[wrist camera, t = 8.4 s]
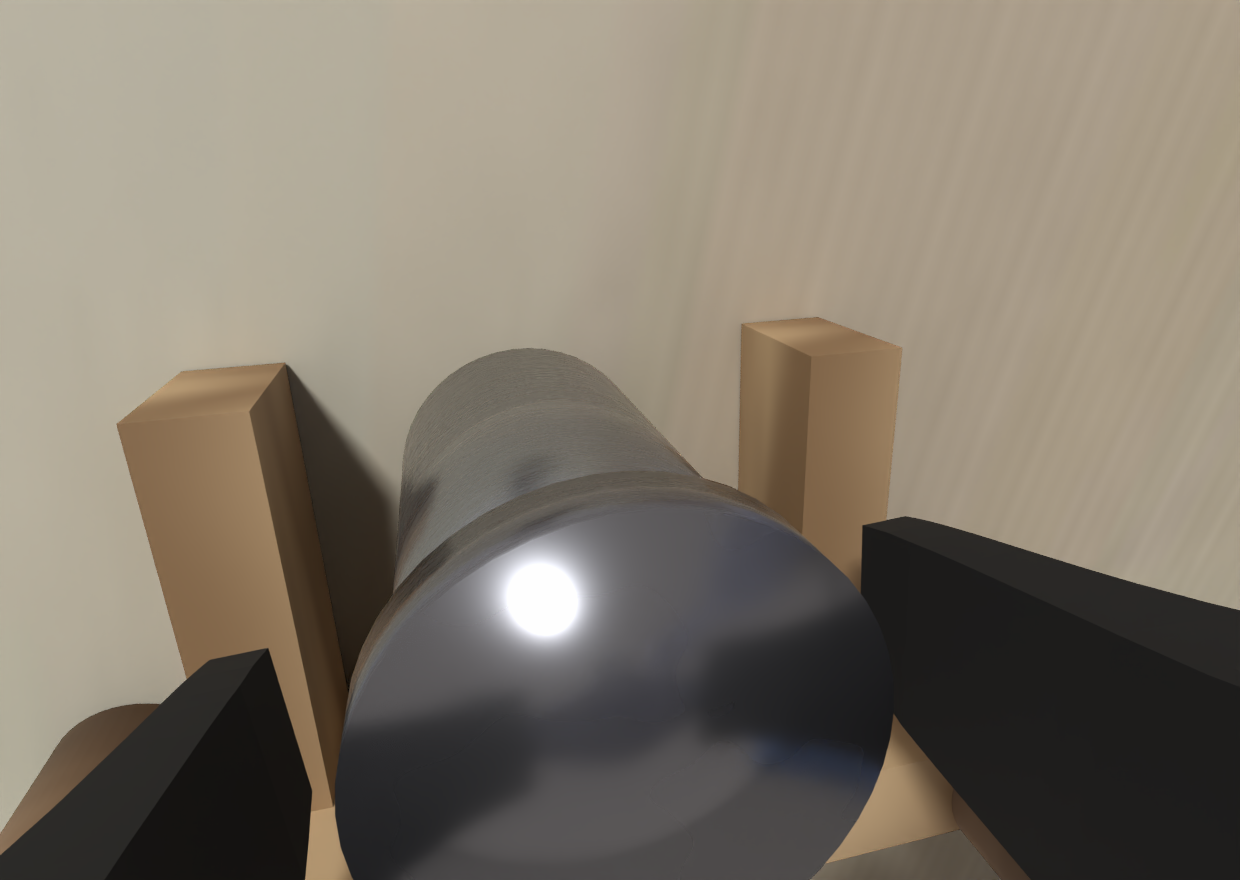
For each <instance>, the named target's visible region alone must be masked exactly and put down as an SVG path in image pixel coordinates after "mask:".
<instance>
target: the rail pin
mask: <svg viewBox="0 0 1240 880" xmlns="http://www.w3.org/2000/svg"><path fill="white" fill-rule="evenodd" d="M893 714H894V680H893V674H892V668H891V662H890V656H889V652H888V649H887V646H886V643H885V640H884V637H883V634H882V631H881V628H880V625H879V624H878V622H877V620H876V618H875V616H874V614H873V612H872V611H871V609H870V607H869V605H868V603H867V601H866V600H865V599H864V597H863V596H862V595H861V594H860V592H859V591H858V590H857V588H856V587H855V586H854V585H853V583H852V582H851V581H850V579H849V578H848V577H847V576H846V575H845V574H844V573H843V572H841V571H840V570H839V569H838V568H837V567H836V566H835V565H834V564H833V563H832V562H831V561H830V560H829V559H828V558H827V557H825V556H824V555H823V554H822V553H821V552H820V551H819V550H818V549H817V548H816V547H815V546H814V545H813V544H812V543H810V542H809V541H808V540H807V539H806V538H805V537H804V536H803V535H802V534H801V533H800V532H799V531H798V530H796V529H795V528H794V527H793V526H792V525H791V524H790V523H789V522H788V521H787V520H786V519H784V518H783V517H782V516H781V515H780V514H778V513H777V512H775V511H774V510H772V509H771V508H769V507H768V506H766V505H765V504H763V503H762V502H760V501H759V500H757V499H756V498H753V497H751V496H749V495H747V494H745V493H743V492H740V491H738V490H736V489H734V488H732V487H730V486H727V485H724V484H721V483H717V482H714V481H710V480H707V479H704V478H702V477H701V476H700V475H699V474H698V473H697V472H696V470H695V469H694V468H693V467H692V466H691V465H690V464H689V463H688V462H687V461H686V460H685V459H684V458H683V457H682V456H681V454H680V453H679V452H678V451H677V450H676V449H675V448H674V447H673V446H672V445H671V444H670V443H669V442H668V441H667V440H666V438H665V437H664V436H663V435H662V434H661V433H660V432H659V431H658V430H657V429H656V428H655V427H654V426H653V425H652V424H651V422H650V421H649V420H648V419H647V418H646V417H645V416H644V415H643V414H642V413H641V412H640V411H639V410H638V409H637V408H636V406H635V405H634V404H633V403H632V402H631V401H630V400H629V399H628V398H627V397H626V396H625V395H624V394H623V393H622V392H621V390H620V389H619V388H618V387H617V386H616V385H615V384H614V383H613V382H612V381H611V380H610V379H609V378H607V377H606V376H605V375H604V374H603V373H602V372H600V371H599V370H597V369H596V368H594V367H593V366H591V365H590V364H588V363H586V362H584V361H582V360H580V359H578V358H576V357H573V356H570V355H567V354H564V353H561V352H556V351H551V350H546V349H531V348H526V349H512V350H507V351H502V352H497V353H493V354H490V355H487V356H484V357H481V358H479V359H477V360H475V361H473V362H471V363H468V364H466V365H464V366H463V367H461V368H460V369H458V370H457V371H455V372H454V373H452V374H451V375H450V376H448V377H447V378H446V379H445V380H444V381H443V382H441V383H440V384H439V385H438V386H437V387H436V388H435V389H434V391H433V392H432V393H431V394H430V395H429V396H428V397H427V399H426V400H425V402H424V403H423V405H422V406H421V408H420V409H419V411H418V412H417V414H416V416H415V419H414V421H413V423H412V425H411V427H410V430H409V433H408V436H407V440H406V444H405V450H404V456H403V469H402V482H401V495H400V508H399V521H398V534H397V547H396V560H395V573H394V586H393V595H392V596H391V597H390V599H389V600H388V602H387V603H386V605H385V606H384V608H383V609H382V610H381V612H380V613H379V615H378V616H377V618H376V620H375V622H374V624H373V626H372V628H371V630H370V632H369V634H368V636H367V638H366V640H365V642H364V644H363V646H362V648H361V651H360V654H359V657H358V660H357V663H356V666H355V669H354V672H353V675H352V678H351V682H350V688H349V694H348V700H347V706H346V712H345V719H344V725H343V732H342V739H341V745H340V752H339V759H338V766H337V772H336V779H335V819H336V824H337V830H338V836H339V841H340V847H341V850H342V853H343V855H344V858H345V861H346V863H347V866H348V869H349V871H350V874H351V877H352V878H353V880H810V879H811V878H812V877H813V876H814V875H815V874H816V873H817V872H818V871H819V870H820V869H821V868H822V867H823V865H824V864H825V863H826V862H827V861H828V859H829V858H830V857H831V856H832V855H833V853H834V852H835V851H836V850H837V849H838V847H839V846H840V845H841V844H842V842H843V841H844V839H845V838H846V836H847V835H848V833H849V832H850V830H851V829H852V827H853V826H854V825H855V823H856V822H857V820H858V818H859V817H860V815H861V813H862V811H863V809H864V807H865V805H866V803H867V802H868V800H869V798H870V796H871V794H872V792H873V790H874V787H875V785H876V782H877V780H878V777H879V775H880V772H881V769H882V767H883V764H884V760H885V756H886V753H887V749H888V745H889V741H890V737H891V730H892V722H893Z"/></svg>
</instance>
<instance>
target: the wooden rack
mask: <svg viewBox="0 0 1240 880" xmlns="http://www.w3.org/2000/svg"><path fill="white" fill-rule="evenodd" d="M901 357H902V348H901V347H899V346H896V345H893V344H890V343H888V342H885V341H882V340H879V339H876V338H874V337H871V336H868V335H865V334H863V333H860V332H857V331H854V330H852V329H849V328H846V327H843V326H841V325H838V324H835V323H832V322H830V321H827V320H824V319H821V318H818V317H816V318H804V319H792V320H780V321H769V322H757V323H745V324H742V331H741V381H740V431H739V481H738V491H740V492H743V493H745V494H747V495H749V496H751V497H753V498H756V499H757V500H759V501H760V502H762V503H763V504H765V505H766V506H768V507H769V508H771V509H772V510H774V511H775V512H777V513H778V514H780V515H781V516H782V517H783V518H784V519H786V520H787V521H788V522H789V523H790V524H791V525H792V526H793V527H794V528H795V529H796V530H798V531H799V532H800V533H801V534H802V535H803V536H804V537H805V538H806V539H807V540H808V541H809V542H810V543H812V544H813V545H814V546H815V547H816V548H817V549H818V550H819V551H820V552H821V553H822V554H823V555H824V556H825V557H827V558H828V559H829V560H830V561H831V562H832V563H833V564H834V565H835V566H836V567H837V568H838V569H839V570H840V571H841V572H843V573H844V574H845V575H846V576H847V577H848V578H849V579H850V581H851V582H852V583H853V585H854V586H855V587H856V588H857V590H858V591H859V592H860V594H861V559H862V525H866V524H871V523H876V522H881V521H885V520H886V516H887V505H888V495H889V484H890V474H891V463H892V452H893V442H894V431H895V420H896V410H897V399H898V388H899V378H900V367H901ZM116 425H117V428H118V432H119V435H120V439H121V443H122V446H123V450H124V454H125V457H126V461H127V464H128V468H129V472H130V475H131V479H132V482H133V486H134V490H135V493H136V497H137V501H138V504H139V508H140V511H141V515H142V519H143V522H144V526H145V529H146V533H147V537H148V540H149V544H150V548H151V551H152V555H153V558H154V562H155V566H156V569H157V573H158V576H159V580H160V584H161V587H162V591H163V595H164V598H165V602H166V605H167V609H168V613H169V616H170V620H171V623H172V627H173V631H174V634H175V638H176V642H177V645H178V649H179V652H180V656H181V660H182V663H183V667H184V670H185V674H186V678H187V679H188V678H189V677H190V676H191V675H192V674H193V673H194V672H196V671H197V670H198V669H199V668H200V667H201V666H203V665H204V664H205V663H206V662H207V661H209V660H211V659H216V658H221V657H226V656H230V655H235V654H240V653H245V652H250V651H255V650H260V649H264V648H269V652H270V655H271V658H272V661H273V665H274V668H275V671H276V674H277V678H278V681H279V684H280V687H281V691H282V694H283V697H284V700H285V704H286V707H287V710H288V713H289V717H290V720H291V723H292V726H293V730H294V733H295V736H296V739H297V743H298V746H299V749H300V752H301V756H302V759H303V762H304V765H305V769H306V772H307V775H308V778H309V782H310V785H311V788H312V803H311V817H310V832H309V844H308V855H307V866H306V876H305V880H353V878H352V877H351V874H350V871H349V869H348V866H347V863H346V861H345V858H344V855H343V853H342V850H341V847H340V841H339V836H338V830H337V824H336V819H335V779H336V772H337V766H338V759H339V752H340V745H341V739H342V732H343V725H344V719H345V712H346V706H347V700H348V689H347V684H346V679H345V673H344V668H343V663H342V658H341V652H340V647H339V642H338V637H337V631H336V626H335V621H334V616H333V610H332V605H331V600H330V595H329V589H328V584H327V579H326V574H325V568H324V563H323V558H322V553H321V547H320V542H319V537H318V532H317V526H316V521H315V516H314V511H313V506H312V500H311V495H310V490H309V485H308V479H307V474H306V469H305V464H304V458H303V453H302V448H301V443H300V437H299V432H298V427H297V422H296V416H295V411H294V406H293V401H292V395H291V390H290V385H289V380H288V374H287V369H286V364H285V363H276V364H265V365H253V366H241V367H230V368H218V369H206V370H194V371H183V372H181V373H179V374H178V375H177V376H176V377H174V378H173V379H172V380H171V381H169V382H168V383H167V384H166V385H164V386H163V387H162V388H161V389H159V390H158V391H157V392H156V393H155V394H153V395H152V396H151V397H150V398H148V399H147V400H146V401H145V402H143V403H142V404H141V405H140V406H138V407H137V408H136V409H135V410H133V411H132V412H131V413H130V414H128V415H127V416H126V417H125V418H124V419H122V420H121V421H120V422H119V423H117V424H116ZM158 706H159V704H133V705H124V706H120V707H115V708H111V709H108V710H105V711H102V712H99V713H97V714H95V715H93V716H91V717H89V718H87V719H85V720H84V721H82V722H80V723H79V724H77V725H76V726H75V727H74V728H72V729H71V730H70V731H69V732H68V733H67V734H66V735H65V736H64V737H63V738H62V740H61V741H60V742H59V744H58V745H57V747H56V748H55V750H54V751H53V753H52V754H51V756H50V758H49V759H48V761H47V762H46V764H45V765H44V767H43V768H42V770H41V772H40V773H39V775H38V776H37V778H36V779H35V781H34V782H33V784H32V785H31V787H30V789H29V790H28V792H27V793H26V795H25V796H24V798H23V799H22V801H21V803H20V804H19V806H18V807H17V809H16V810H15V812H14V813H13V815H12V817H11V818H10V820H9V821H8V823H7V824H6V826H5V827H4V829H3V830H2V832H1V834H0V855H1V854H2V853H3V852H4V851H5V850H7V849H8V848H9V847H10V846H11V845H12V844H13V843H14V842H15V841H17V840H18V839H19V838H20V837H21V836H22V835H23V834H24V833H25V832H27V831H28V830H29V829H30V828H31V827H32V826H33V825H34V824H36V823H37V822H38V821H39V820H40V819H41V818H42V817H43V816H44V815H46V814H47V813H48V812H49V811H50V810H51V809H52V808H53V807H54V806H55V805H57V804H58V803H59V802H60V801H61V800H62V799H63V798H64V797H65V796H66V795H67V794H68V793H69V792H70V791H71V790H72V789H73V788H74V787H75V786H77V785H78V784H79V783H80V782H81V781H82V780H83V779H84V778H85V777H86V776H87V775H88V774H89V773H90V772H91V771H92V770H93V769H94V768H95V767H96V766H97V765H98V764H99V763H100V762H102V761H103V760H104V759H105V758H106V757H107V756H108V755H109V754H110V753H111V752H112V751H113V750H114V749H115V748H116V747H117V746H118V745H119V744H120V743H121V742H122V741H123V740H124V739H126V738H127V737H128V736H129V735H130V734H131V733H132V732H133V731H134V730H135V729H136V728H137V727H138V726H139V725H140V724H141V723H142V722H143V721H144V720H145V719H146V718H147V717H148V716H149V715H150V714H151V713H152V712H153V711H154V710H155V709H156V708H157V707H158ZM960 829H961V831H962V832H963V833H964V834H965V836H966V837H967V838H968V839H969V840H970V842H971V843H972V844H973V845H974V847H975V848H976V849H977V850H978V851H979V853H980V854H981V855H982V856H983V858H984V859H985V860H986V861H987V862H988V864H989V865H990V866H991V867H992V869H993V870H994V871H995V872H996V873H997V875H998V876H999V877H1000V878H1001V880H1031V879H1030V878H1029V877H1028V876H1027V875H1026V873H1025V872H1024V871H1023V870H1022V869H1021V868H1020V866H1019V865H1018V864H1017V863H1016V862H1015V860H1014V859H1013V858H1012V857H1011V856H1010V855H1009V853H1008V852H1007V851H1006V850H1005V849H1004V847H1003V846H1002V845H1001V844H1000V843H999V841H998V840H997V839H996V838H995V837H994V836H993V834H992V833H991V832H990V831H989V830H988V828H987V827H986V826H985V825H984V824H983V823H982V821H981V820H980V819H979V818H978V817H977V815H976V814H975V813H974V812H973V811H972V810H971V808H970V807H969V806H968V805H967V804H966V802H965V801H964V800H963V799H962V798H961V797H960V795H959V794H958V793H957V792H956V791H955V789H954V788H953V787H952V786H951V785H950V784H949V782H948V781H947V780H946V779H945V778H944V776H943V775H942V774H941V773H940V772H939V770H938V769H937V768H936V767H935V766H934V764H933V763H932V762H931V761H930V760H929V758H928V757H927V756H926V755H925V754H924V752H923V751H922V750H921V749H920V748H919V746H918V745H917V744H916V743H915V741H914V740H913V739H912V738H911V737H910V735H909V734H908V733H907V732H906V730H905V729H904V728H903V727H902V725H901V724H900V722H899V721H898V719H897V718H896V716H895V715H894V714H893V722H892V730H891V737H890V741H889V745H888V749H887V753H886V756H885V760H884V764H883V767H882V769H881V772H880V775H879V777H878V780H877V782H876V785H875V787H874V790H873V792H872V794H871V796H870V798H869V800H868V802H867V803H866V805H865V807H864V809H863V811H862V813H861V815H860V817H859V818H858V820H857V822H856V823H855V825H854V826H853V827H852V829H851V830H850V832H849V833H848V835H847V836H846V838H845V839H844V841H843V842H842V844H841V845H840V846H839V847H838V849H837V850H836V851H835V852H834V853H833V855H832V856H831V857H830V858H829V859H828V861H827V862H826V863H830V862H834V861H838V860H842V859H846V858H849V857H853V856H857V855H861V854H865V853H869V852H873V851H877V850H881V849H885V848H889V847H893V846H897V845H901V844H905V843H909V842H913V841H917V840H920V839H924V838H928V837H932V836H936V835H940V834H944V833H948V832H952V831H956V830H960ZM826 863H825V864H826Z"/></svg>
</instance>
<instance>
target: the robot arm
mask: <svg viewBox="0 0 1240 880" xmlns="http://www.w3.org/2000/svg"><path fill="white" fill-rule="evenodd" d="M861 595H862V596H863V597H864V599H865V600H866V601H867V603H868V605H869V607H870V609H871V611H872V612H873V614H874V616H875V618H876V620H877V622H878V624H879V625H880V628H881V631H882V634H883V637H884V640H885V643H886V646H887V649H888V652H889V656H890V662H891V668H892V674H893V680H894V715H895V716H896V718H897V719H898V721H899V722H900V724H901V725H902V727H903V728H904V729H905V730H906V732H907V733H908V734H909V735H910V737H911V738H912V739H913V740H914V741H915V743H916V744H917V745H918V746H919V748H920V749H921V750H922V751H923V752H924V754H925V755H926V756H927V757H928V758H929V760H930V761H931V762H932V763H933V764H934V766H935V767H936V768H937V769H938V770H939V772H940V773H941V774H942V775H943V776H944V778H945V779H946V780H947V781H948V782H949V784H950V785H951V786H952V787H953V788H954V789H955V791H956V792H957V793H958V794H959V795H960V797H961V798H962V799H963V800H964V801H965V802H966V804H967V805H968V806H969V807H970V808H971V810H972V811H973V812H974V813H975V814H976V815H977V817H978V818H979V819H980V820H981V821H982V823H983V824H984V825H985V826H986V827H987V828H988V830H989V831H990V832H991V833H992V834H993V836H994V837H995V838H996V839H997V840H998V841H999V843H1000V844H1001V845H1002V846H1003V847H1004V849H1005V850H1006V851H1007V852H1008V853H1009V855H1010V856H1011V857H1012V858H1013V859H1014V860H1015V862H1016V863H1017V864H1018V865H1019V866H1020V868H1021V869H1022V870H1023V871H1024V872H1025V873H1026V875H1027V876H1028V877H1029V878H1030V879H1031V880H1240V610H1236V609H1232V608H1228V607H1223V606H1219V605H1215V604H1211V603H1207V602H1203V601H1199V600H1196V599H1192V598H1188V597H1185V596H1181V595H1177V594H1174V593H1170V592H1166V591H1162V590H1159V589H1155V588H1151V587H1148V586H1144V585H1140V584H1136V583H1133V582H1130V581H1126V580H1123V579H1119V578H1116V577H1112V576H1109V575H1106V574H1102V573H1099V572H1095V571H1092V570H1089V569H1085V568H1082V567H1079V566H1075V565H1072V564H1069V563H1066V562H1063V561H1059V560H1056V559H1053V558H1050V557H1046V556H1043V555H1040V554H1037V553H1034V552H1030V551H1027V550H1024V549H1021V548H1018V547H1014V546H1011V545H1008V544H1005V543H1002V542H998V541H995V540H992V539H989V538H986V537H982V536H979V535H976V534H973V533H969V532H966V531H962V530H959V529H956V528H952V527H949V526H945V525H941V524H938V523H934V522H930V521H926V520H921V519H916V518H911V517H906V516H905V517H900V518H895V519H890V520H885V521H881V522H876V523H871V524H866V525H862V559H861ZM311 803H312V788H311V785H310V782H309V778H308V775H307V772H306V769H305V765H304V762H303V759H302V756H301V752H300V749H299V746H298V743H297V739H296V736H295V733H294V730H293V726H292V723H291V720H290V717H289V713H288V710H287V707H286V704H285V700H284V697H283V694H282V691H281V687H280V684H279V681H278V678H277V674H276V671H275V668H274V665H273V661H272V658H271V655H270V652H269V648H264V649H260V650H255V651H250V652H245V653H240V654H235V655H230V656H226V657H221V658H216V659H211V660H209V661H207V662H206V663H205V664H204V665H203V666H201V667H200V668H199V669H198V670H197V671H196V672H194V673H193V674H192V675H191V676H190V677H189V678H188V679H187V680H186V681H185V682H184V683H182V684H181V685H180V686H179V687H178V688H177V689H176V690H175V691H174V692H173V693H172V694H171V695H170V696H169V697H168V698H167V699H166V700H165V701H164V702H163V703H161V704H160V705H159V706H158V707H157V708H156V709H155V710H154V711H153V712H152V713H151V714H150V715H149V716H148V717H147V718H146V719H145V720H144V721H143V722H142V723H141V724H140V725H139V726H138V727H137V728H136V729H135V730H134V731H133V732H132V733H131V734H130V735H129V736H128V737H127V738H126V739H124V740H123V741H122V742H121V743H120V744H119V745H118V746H117V747H116V748H115V749H114V750H113V751H112V752H111V753H110V754H109V755H108V756H107V757H106V758H105V759H104V760H103V761H102V762H100V763H99V764H98V765H97V766H96V767H95V768H94V769H93V770H92V771H91V772H90V773H89V774H88V775H87V776H86V777H85V778H84V779H83V780H82V781H81V782H80V783H79V784H78V785H77V786H75V787H74V788H73V789H72V790H71V791H70V792H69V793H68V794H67V795H66V796H65V797H64V798H63V799H62V800H61V801H60V802H59V803H58V804H57V805H55V806H54V807H53V808H52V809H51V810H50V811H49V812H48V813H47V814H46V815H44V816H43V817H42V818H41V819H40V820H39V821H38V822H37V823H36V824H34V825H33V826H32V827H31V828H30V829H29V830H28V831H27V832H25V833H24V834H23V835H22V836H21V837H20V838H19V839H18V840H17V841H15V842H14V843H13V844H12V845H11V846H10V847H9V848H8V849H7V850H5V851H4V852H3V853H2V854H1V855H0V880H305V876H306V866H307V855H308V844H309V832H310V817H311Z"/></svg>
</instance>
